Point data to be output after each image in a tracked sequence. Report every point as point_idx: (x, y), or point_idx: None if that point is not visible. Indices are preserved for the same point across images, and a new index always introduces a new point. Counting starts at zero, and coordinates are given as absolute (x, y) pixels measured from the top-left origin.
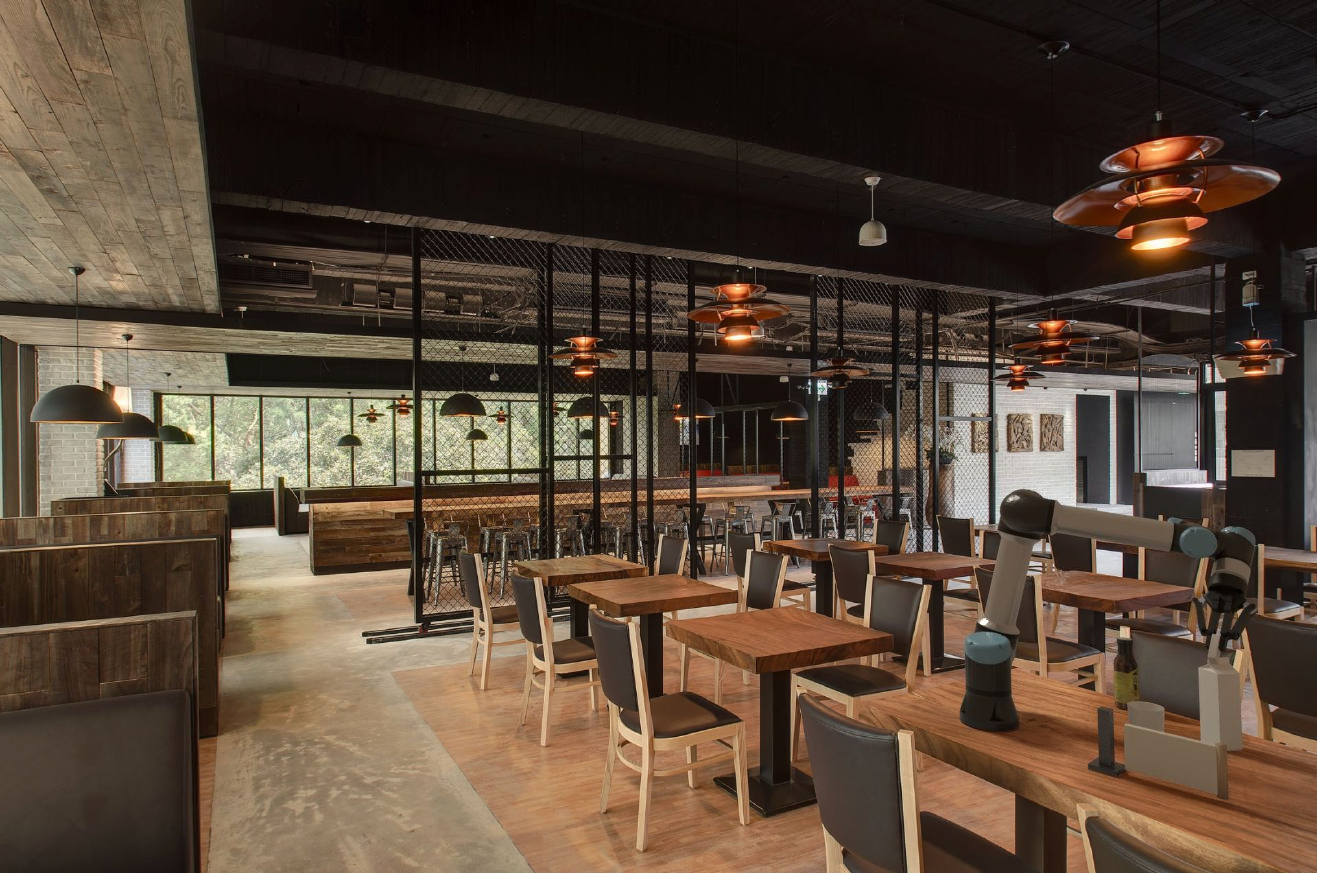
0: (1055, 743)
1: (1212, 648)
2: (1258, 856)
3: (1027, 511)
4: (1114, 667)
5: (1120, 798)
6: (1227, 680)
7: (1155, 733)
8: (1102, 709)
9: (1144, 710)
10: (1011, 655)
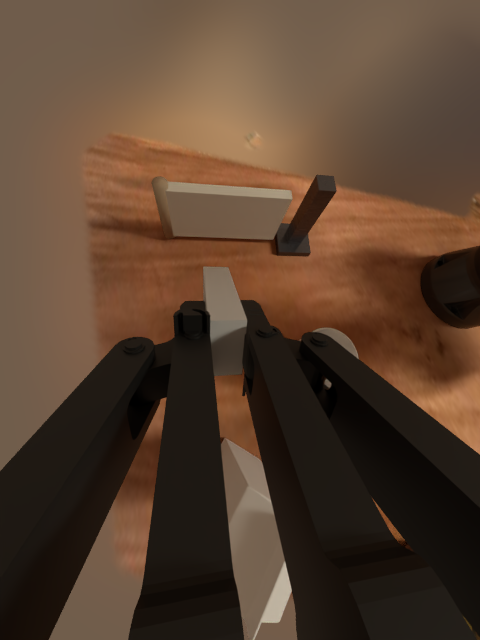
0: (369, 281)
1: (221, 282)
2: (117, 139)
3: None
4: None
5: (247, 178)
6: (227, 510)
7: (247, 188)
8: (326, 176)
9: (319, 328)
10: None
